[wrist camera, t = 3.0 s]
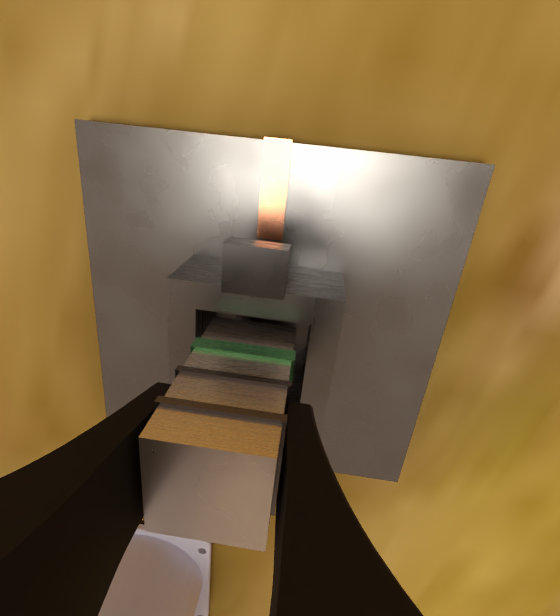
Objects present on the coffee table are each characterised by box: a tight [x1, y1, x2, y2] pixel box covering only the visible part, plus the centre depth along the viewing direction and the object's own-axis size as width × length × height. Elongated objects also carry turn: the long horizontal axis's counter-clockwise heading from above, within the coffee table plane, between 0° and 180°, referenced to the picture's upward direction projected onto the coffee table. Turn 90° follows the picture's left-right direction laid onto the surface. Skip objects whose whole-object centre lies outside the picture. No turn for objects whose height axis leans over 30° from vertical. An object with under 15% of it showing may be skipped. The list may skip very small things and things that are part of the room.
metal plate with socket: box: [74, 119, 495, 482], centre depth 15 cm, size 15×15×5 cm
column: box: [138, 317, 296, 552], centre depth 12 cm, size 3×3×6 cm
